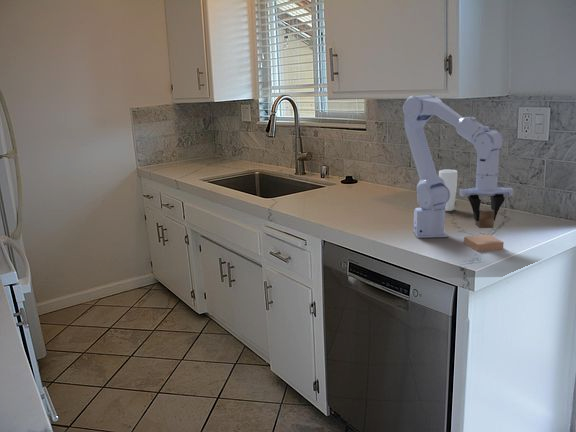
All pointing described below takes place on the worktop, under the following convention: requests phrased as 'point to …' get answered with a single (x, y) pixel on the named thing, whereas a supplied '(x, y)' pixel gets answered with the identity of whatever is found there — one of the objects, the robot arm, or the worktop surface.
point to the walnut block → (485, 218)
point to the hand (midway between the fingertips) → (484, 220)
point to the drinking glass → (450, 186)
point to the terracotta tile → (483, 242)
